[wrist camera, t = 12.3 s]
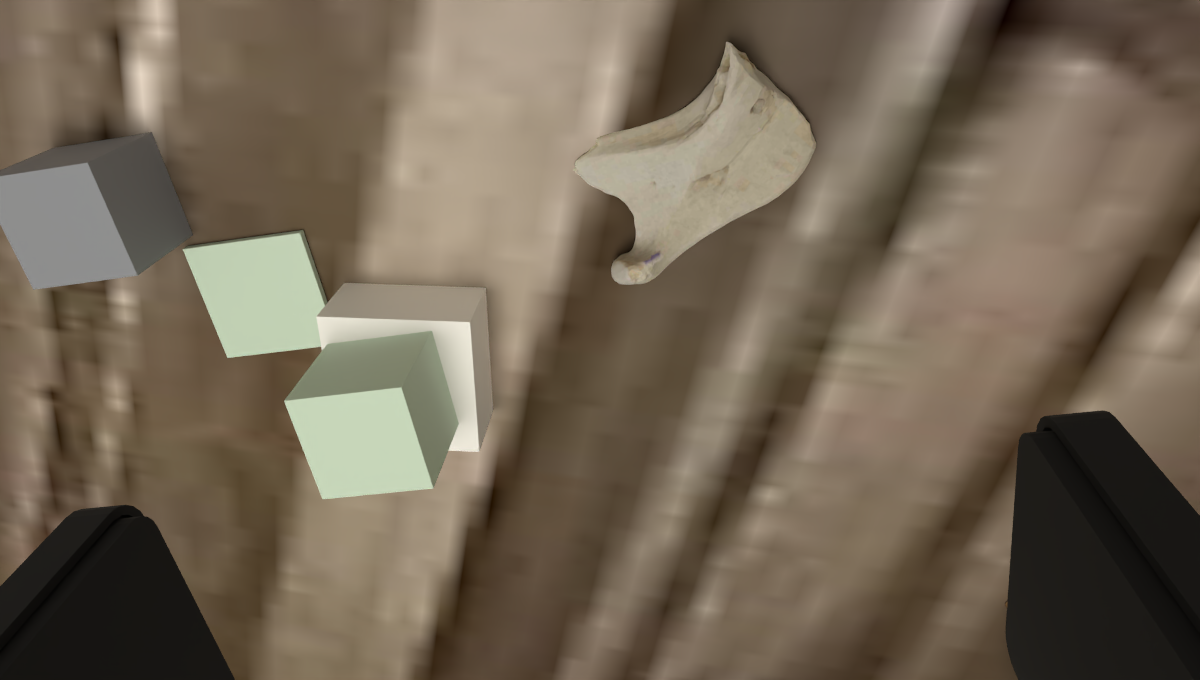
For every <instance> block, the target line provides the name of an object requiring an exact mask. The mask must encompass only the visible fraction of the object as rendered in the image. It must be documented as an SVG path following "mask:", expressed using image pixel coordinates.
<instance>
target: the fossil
mask: <svg viewBox="0 0 1200 680" xmlns="http://www.w3.org/2000/svg"><path fill="white" fill-rule="evenodd" d="M815 147H816V142H815V139H814V137H813V134H812V132H811V130H810V124H809V123H808V121H807V120H806V119H805V117H804V116H803V115H802V114H801V113H800V111H799V110H798V109H797V108H796V106H795V105H794V104H793V102H792V101H791V100H790V98H789V97H788V96H786V95H785V94H784V93H783V92H781V91H780V90H779V89H778V88H777V87H776V86H775V85H774V84H773V83H772V82H771V81H770V80H769V78H768V77H767V76H765V75H764V74H763V73H762V72H760V71H759V70H757V69H756V67H755V65H754V64H753V63H752V62H750V61H749V59H748V57H747V55H746V53H743V52H740V51H739V50H737V49H736V48H735V47H734V46H733V45H732V44H731V43H729V42H726V47H725V51H724V55H723V58H722V61H721V64H720V67H719V68H718V70H717V73H716V75H715V76H714V78H713V79H712V81H711V82H710V83H709V84H708V85H707V87H706V88H705V89H704V90H703V92H702V93H701V94H700V95H699V96H698V97H697V98H696V99H695V100H694V101H693V102H691V103H690V104H689V105H688V106H686V107H685V108H683V109H681V110H679V111H677V112H676V113H674V114H672V115H670V116H667V117H665V118H662V119H659V120H657V121H654V122H651V123H648V124H645V125H642V126H640V127H635V128H632V129H628V130H623V131H619V132H615V133H611V134H607V135H604V136H602V137H599V138H597V140H596V145H595V146H593V147H592V148H591V149H590V150H589V151H588V152H587V153H586V154H584V155H582V156H581V157H580V158H579V159H578V160H576V162H575V166H576V167H575V169H574V171H575V172H576V174H579V175H580V176H581V177H582V178H583V179H584V180H585V181H586V183H587V184H589V185H591V186H593V187H594V188H597V189H600V190H602V191H603V192H605V193H607V194H610V195H614V196H616V197H618V198H619V199H621V200H622V201H623V202H624V203H626V205H627V206H628V207H629V209H630V211H631V212H632V213H633V216H634V223H635V228H636V238H635V243H634V246H633V248H632V250H631V251H630V252H628V253H625V254H622V255H620V256H619V257H618V258H617V259H616V260H614V261H613V264H612V268H611V273H612V277H613V279H614V280H615V281H616V282H618V283H619V284H627V285H630V284H643V283H647V282H649V281H651V280H652V279H654V278H655V277H657V276H658V275H659V274H660V273H661V272H662V271H663V270H664V269H665V268H666V267H667V266H668V265H669V264H670V263H671V262H673V261H674V260H675V259H676V258H677V257H678V256H680V255H681V254H682V253H683V252H685V251H686V250H687V249H688V248H690V247H691V246H693V245H694V244H696V243H697V242H698V241H700V240H701V239H703V238H704V237H706V236H707V235H709V234H711V233H712V232H714V231H716V230H717V229H719V228H721V227H723V226H724V225H726V224H728V223H729V222H731V221H733V220H735V219H737V218H739V217H741V216H743V215H745V214H747V213H749V212H751V211H753V210H755V209H757V208H759V207H761V206H763V205H765V204H767V203H769V202H770V201H772V200H774V199H775V198H777V197H778V196H780V195H781V194H782V193H783V192H784V191H786V190H787V189H788V188H789V187H790V186H792V185H793V184H794V183H795V181H796V180H797V179H798V178H799V177H800V175H801V174H802V173H803V172H804V170H805V169H806V167H807V165H808V163H809V161H810V160H811V157H812V154H813V152H814V151H815Z"/></svg>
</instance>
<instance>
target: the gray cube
mask: <svg viewBox="0 0 1200 680" xmlns="http://www.w3.org/2000/svg"><path fill="white" fill-rule="evenodd" d="M0 225H1V227H2V229H3V231H4V233H5V234H6V236H7V238H8V240H9V242H10V244H11V246H12V248H13V250H14V252H15V254H16V256H17V258H18V260H19V262H20V264H21V266H22V268H23V270H24V272H25V274H26V276H27V278H28V280H29V282H30V284H31V286H32V288H33V290H34V289H41V288H49V287H56V286H63V285H71V284H78V283H86V282H93V281H100V280H108V279H115V278H123V277H130V276H137V275H139V274H140V273H142V272H143V271H144V270H146V269H147V268H148V267H150V266H151V265H153V264H154V263H155V262H157V261H158V260H159V259H161V258H162V257H163V256H165V255H166V254H168V253H169V252H170V251H172V250H173V249H174V248H176V247H177V246H179V245H180V244H181V243H183V242H184V241H185V240H187V239H188V238H190V237H191V236H192V235H193V234H192V231H191V229H190V226H189V224H188V221H187V219H186V216H185V214H184V211H183V209H182V206H181V204H180V201H179V199H178V196H177V194H176V191H175V189H174V186H173V184H172V181H171V179H170V176H169V174H168V172H167V169H166V167H165V164H164V162H163V159H162V157H161V154H160V152H159V149H158V147H157V144H156V142H155V139H154V137H153V134H152V132H151V133H145V134H139V135H132V136H126V137H120V138H113V139H107V140H101V141H95V142H88V143H82V144H76V145H69V146H63V147H57V148H52V149H50V150H47V151H45V152H43V153H40V154H38V155H35V156H33V157H31V158H28V159H26V160H24V161H21V162H19V163H16V164H14V165H12V166H9V167H7V168H5V169H2V170H0Z"/></svg>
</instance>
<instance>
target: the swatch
mask: <svg viewBox="0 0 1200 680" xmlns="http://www.w3.org/2000/svg"><path fill="white" fill-rule="evenodd" d="M183 251H184V253H185V256H186V258H187V261H188V263H189V265H190V268H191V270H192V273H193V275H194V278H195V280H196V282H197V285H198V287H199V290H200V292H201V295H202V297H203V299H204V302H205V304H206V307H207V309H208V312H209V314H210V316H211V319H212V321H213V324H214V326H215V329H216V331H217V333H218V336H219V338H220V341H221V343H222V345H223V348H224V350H225V353H226V355H227V358H231V357H239V356H247V355H256V354H264V353H272V352H281V351H289V350H297V349H306V348H314V347H321V342H320V336H319V330H318V324H317V318H316V316H317V315H318V314H319V313H320V311H321V310H322V309H323V308H324V307H325V305H326V304H327V303H328V302H327V299H326V296H325V293H324V290H323V287H322V284H321V281H320V278H319V275H318V272H317V270H316V267H315V264H314V261H313V258H312V255H311V252H310V249H309V246H308V243H307V240H306V237H305V234H304V231H303V230H299V231H292V232H285V233H278V234H271V235H264V236H257V237H249V238H242V239H235V240H228V241H221V242H214V243H206V244H199V245H192V246H187V247H185V248H184V249H183Z"/></svg>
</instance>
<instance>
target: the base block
mask: <svg viewBox="0 0 1200 680" xmlns="http://www.w3.org/2000/svg"><path fill="white" fill-rule="evenodd" d="M316 318H317V324H318V330H319V336H320V342H321V348H322V350H323V349H324V348H325V346H326V345H327V344H331V343H339V342H347V341H355V340H363V339H371V338H379V337H387V336H395V335H402V334H410V333H418V332H426V331H432V333H433V336H434V340H435V343H436V347H437V350H438V354H439V357H440V360H441V364H442V367H443V371H444V374H445V378H446V381H447V385H448V388H449V392H450V395H451V399H452V402H453V405H454V409H455V412H456V416H457V419H458V423H459V425H458V427H457V430H456V432H455V435H454V437H453V440H452V442H451V445H450V447H449V451H471V452H479V451H480V448H481V445H482V442H483V439H484V436H485V433H486V430H487V427H488V424H489V421H490V418H491V415H492V412H493V397H492V381H491V364H490V348H489V331H488V315H487V298H486V288H482V287H452V286H423V285H394V284H364V283H344V284H343V285H342V286H341V287H340V288H339V290H338V291H337V292H336V293H335V295H334V296H333V297H332V298H331V299H330V301H329V302H328V303H327V304H326V305H325V307H324V308H323V309H322V310H321V311H320V313H319V314H318V315H317V316H316Z"/></svg>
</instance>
